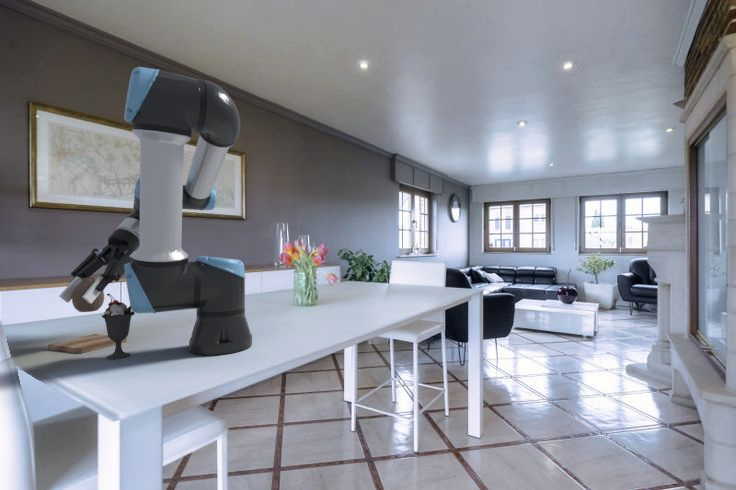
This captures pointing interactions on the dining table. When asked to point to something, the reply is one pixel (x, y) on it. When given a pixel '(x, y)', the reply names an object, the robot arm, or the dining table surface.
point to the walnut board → (83, 344)
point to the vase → (80, 302)
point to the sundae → (117, 325)
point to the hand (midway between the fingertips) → (75, 299)
